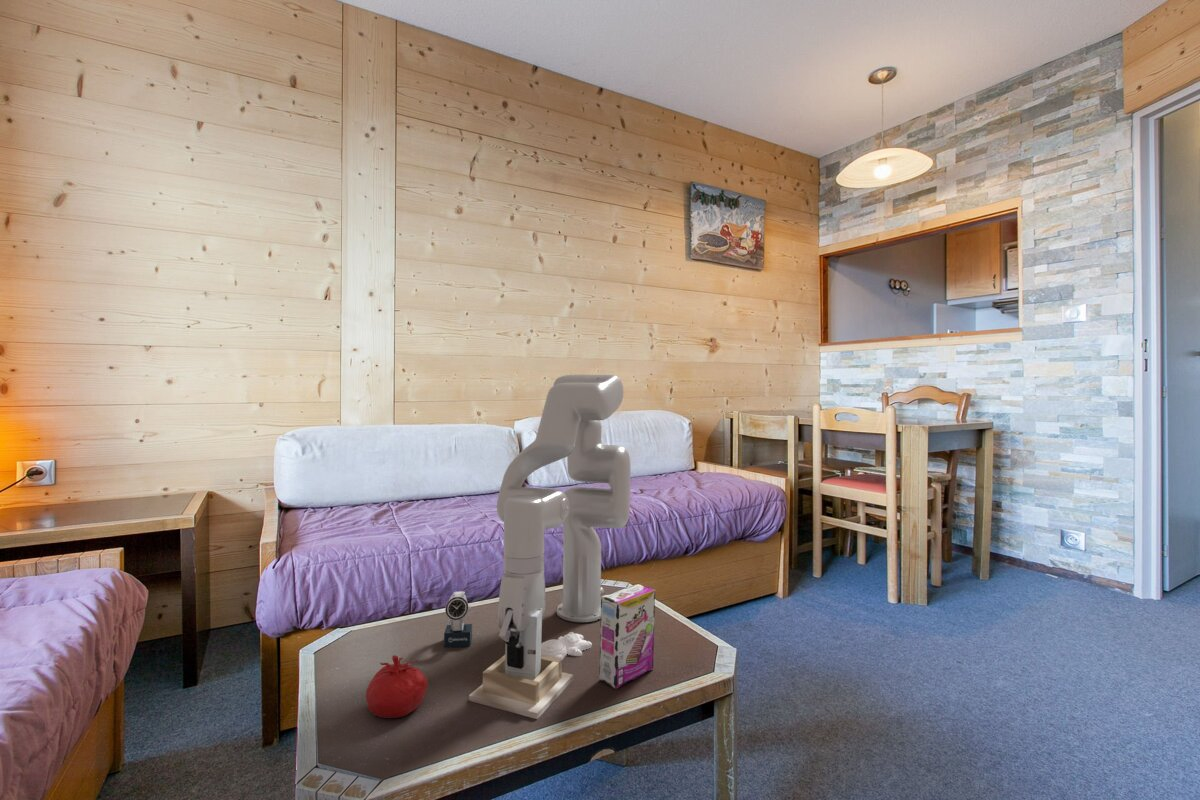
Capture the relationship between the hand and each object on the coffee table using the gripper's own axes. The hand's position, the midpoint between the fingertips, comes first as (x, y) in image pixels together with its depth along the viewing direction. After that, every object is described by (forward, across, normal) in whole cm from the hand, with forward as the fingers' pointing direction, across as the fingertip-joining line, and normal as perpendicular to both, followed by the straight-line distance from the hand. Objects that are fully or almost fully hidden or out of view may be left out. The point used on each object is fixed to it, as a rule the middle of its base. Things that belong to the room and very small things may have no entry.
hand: (523, 658), depth 103 cm
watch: (+6, -11, -23) cm, 26 cm away
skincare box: (+3, 0, 0) cm, 3 cm away
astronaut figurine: (+7, -18, 0) cm, 19 cm away
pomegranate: (+6, +14, -17) cm, 23 cm away
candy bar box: (+6, -13, +16) cm, 21 cm away
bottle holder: (+6, 0, 0) cm, 6 cm away
